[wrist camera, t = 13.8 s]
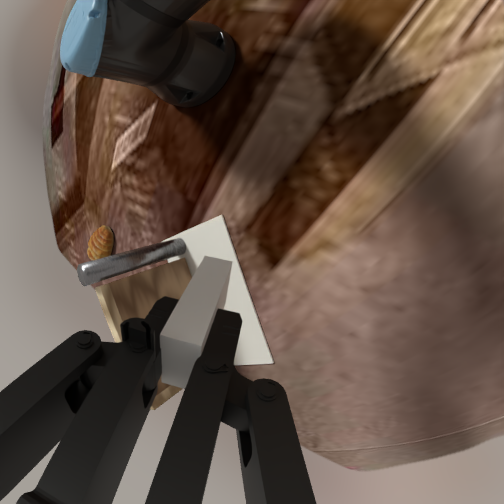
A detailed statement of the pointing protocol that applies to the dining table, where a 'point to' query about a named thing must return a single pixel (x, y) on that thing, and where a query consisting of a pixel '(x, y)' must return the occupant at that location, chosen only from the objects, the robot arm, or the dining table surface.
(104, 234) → the pastry
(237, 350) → the mat
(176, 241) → the hinge post
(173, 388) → the gate
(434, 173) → the dining table surface
